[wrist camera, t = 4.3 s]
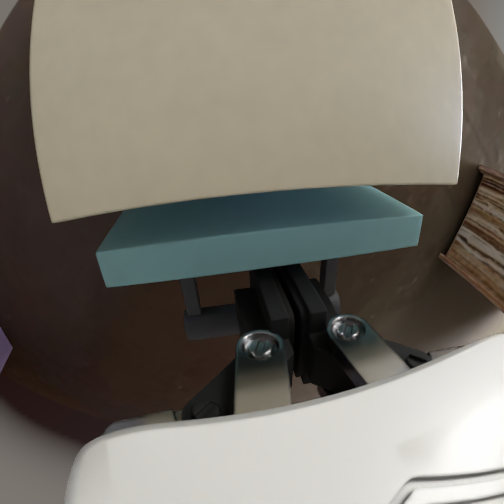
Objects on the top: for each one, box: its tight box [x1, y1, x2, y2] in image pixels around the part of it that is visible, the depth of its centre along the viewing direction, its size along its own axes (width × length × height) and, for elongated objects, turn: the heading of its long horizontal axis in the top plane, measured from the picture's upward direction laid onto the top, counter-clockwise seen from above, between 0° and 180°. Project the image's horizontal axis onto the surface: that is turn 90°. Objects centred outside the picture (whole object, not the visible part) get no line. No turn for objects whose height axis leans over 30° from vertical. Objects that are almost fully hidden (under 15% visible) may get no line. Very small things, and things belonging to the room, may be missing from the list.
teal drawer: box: [96, 186, 423, 340], centre depth 10 cm, size 17×10×8 cm, turn 3°
